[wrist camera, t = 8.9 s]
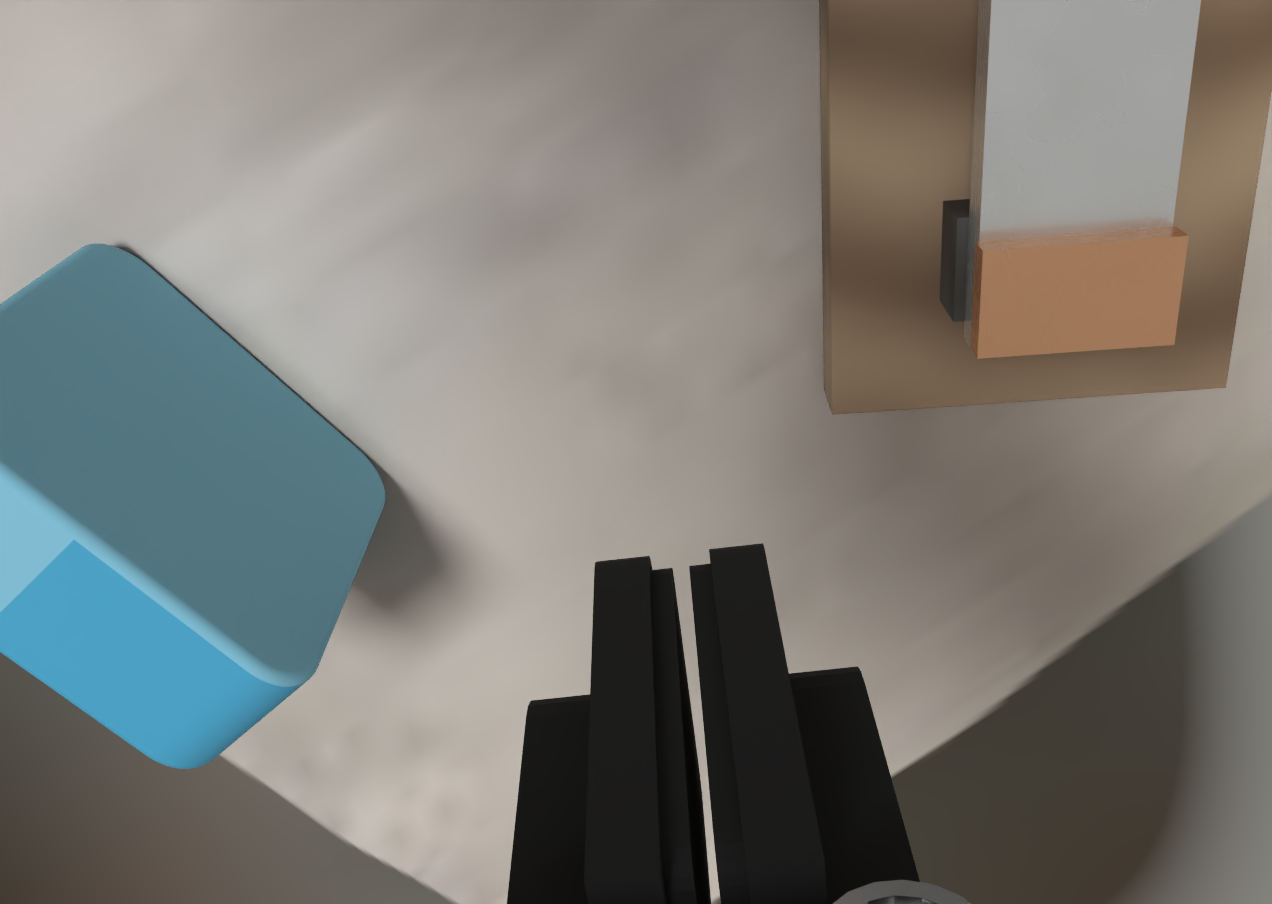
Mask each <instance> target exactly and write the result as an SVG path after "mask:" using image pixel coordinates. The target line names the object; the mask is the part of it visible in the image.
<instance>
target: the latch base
mask: <svg viewBox="0 0 1272 904" xmlns="http://www.w3.org/2000/svg"><path fill="white" fill-rule="evenodd" d="M978 11H979V0H819V14H820V97H821V179H822V262H823V345H824V390H825V393H826V396H827V399H828V403H829V406H830V409H831V412H832V414H846V413H861V412H875V411H890V410H904V409H919V408H934V407H948V406H963V405H977V404H992V403H1007V402H1021V401H1036V400H1051V399H1065V398H1080V397H1094V396H1109V395H1124V394H1138V393H1153V392H1167V391H1182V390H1197V389H1211V388H1226V383H1227V376H1228V370H1229V363H1230V357H1231V350H1232V344H1233V337H1234V331H1235V324H1236V318H1237V311H1238V305H1239V298H1240V292H1241V285H1242V279H1243V272H1244V266H1245V259H1246V253H1247V246H1248V240H1249V234H1250V227H1251V221H1252V214H1253V208H1254V201H1255V195H1256V188H1257V182H1258V175H1259V169H1260V162H1261V156H1262V149H1263V143H1264V136H1265V130H1266V123H1267V117H1268V110H1269V104H1270V97H1271V91H1272V0H1201V5H1200V13H1199V21H1198V29H1197V37H1196V45H1195V53H1194V61H1193V69H1192V77H1191V85H1190V93H1189V101H1188V109H1187V117H1186V125H1185V133H1184V141H1183V148H1182V156H1181V164H1180V172H1179V180H1178V188H1177V196H1176V204H1175V212H1174V220H1173V227H1177V228H1179V229H1180V230H1182V231H1183V232H1184V233H1186V234H1187V235H1188V236H1189V238H1188V246H1187V253H1186V261H1185V268H1184V276H1183V283H1182V291H1181V298H1180V306H1179V314H1178V321H1177V329H1176V336H1175V344H1174V345H1166V346H1152V347H1138V348H1124V349H1109V350H1095V351H1081V352H1067V353H1052V354H1038V355H1024V356H1010V357H995V358H981V359H977V357H976V356H975V354H973V352H972V351H971V349H970V347H969V346H968V344H967V343H966V341H965V340H964V317H965V295H966V273H967V251H968V229H969V207H970V186H971V164H972V142H973V120H974V98H975V76H976V55H977V33H978Z"/></svg>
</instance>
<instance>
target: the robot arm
mask: <svg viewBox="0 0 1272 904" xmlns="http://www.w3.org/2000/svg"><path fill="white" fill-rule="evenodd" d="M709 552H710V561H711V564H704V565H695V566H690V579H691V590H692V601H693V612H694V623H695V634H696V645H697V656H698V667H699V678H700V689H701V700H702V711H703V722H704V733H705V745H706V756H707V767H708V778H709V789H710V800H711V811H712V822H713V833H714V843H715V853H716V863H717V872H718V881H719V889H720V897H721V904H970V903H969V902H968V901H966V900H965V899H964V898H962V897H961V896H959V895H957V894H954V893H952V892H950V891H947V890H945V889H942V888H940V887H938V886H936V885H933V884H927V883H921V882H920V881H919V877H918V873H917V870H916V866H915V863H914V860H913V855H912V852H911V848H910V845H909V841H908V837H907V834H906V830H905V827H904V823H903V819H902V816H901V813H900V809H899V805H898V802H897V798H896V794H895V791H894V787H893V783H892V780H891V776H890V773H889V769H888V765H887V762H886V758H885V755H884V751H883V747H882V744H881V740H880V737H879V733H878V729H877V726H876V722H875V719H874V715H873V711H872V708H871V704H870V701H869V697H868V693H867V690H866V686H865V683H864V680H863V677H862V674H861V671H860V669H859V668H858V667H849V668H840V669H830V670H821V671H811V672H802V673H792V674H789V673H788V668H787V663H786V658H785V652H784V647H783V642H782V637H781V632H780V627H779V621H778V616H777V611H776V606H775V601H774V596H773V590H772V585H771V580H770V575H769V570H768V565H767V560H766V554H765V549H764V545H763V544H754V545H745V546H735V547H726V548H717V549H709ZM507 904H711V898H710V886H709V874H708V861H707V849H706V837H705V825H704V813H703V801H702V791H701V782H700V773H699V765H698V758H697V750H696V742H695V735H694V727H693V720H692V712H691V704H690V697H689V689H688V682H687V674H686V666H685V659H684V651H683V644H682V636H681V629H680V621H679V613H678V606H677V598H676V591H675V583H674V576H673V570H672V568H668V569H659V570H652V566H651V560H650V557H649V556H645V557H636V558H627V559H617V560H608V561H599V562H596V563H595V574H594V604H593V633H592V663H591V692H590V695H582V696H572V697H563V698H553V699H544V700H534V701H531V702H530V704H529V705H528V710H527V716H526V725H525V735H524V744H523V754H522V764H521V773H520V783H519V793H518V802H517V812H516V822H515V831H514V841H513V851H512V860H511V870H510V880H509V889H508V899H507Z"/></svg>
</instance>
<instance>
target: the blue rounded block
mask: <svg viewBox="0 0 1272 904" xmlns="http://www.w3.org/2000/svg"><path fill="white" fill-rule="evenodd" d="M385 498H386V497H385V489H384V485H383V482H382V480H381V478H380V476H379V474H378V472H377V470H376V469H375V467H374V466H373V465H372V463H371V462H370V461H369V460H368V458H367V457H366V456H365V455H364V454H363V453H362V452H361V451H360V450H359V449H357V448H356V447H355V446H354V445H353V444H352V443H351V442H349V441H348V440H347V439H346V438H345V437H344V436H343V435H341V434H340V433H339V432H338V431H337V430H336V429H335V428H333V427H332V426H331V425H330V424H329V423H328V422H327V421H325V420H324V419H323V418H322V417H321V416H320V415H319V414H317V413H316V412H315V411H314V410H313V409H312V408H311V407H309V406H308V405H307V404H306V403H305V402H304V401H303V400H301V399H300V398H299V397H298V396H297V395H296V394H295V393H293V392H292V391H291V390H290V389H289V388H288V387H286V386H285V385H284V384H283V383H282V382H281V381H280V380H278V379H277V378H276V377H275V376H274V375H273V374H272V373H270V372H269V371H268V370H267V369H266V368H265V367H264V366H262V365H261V364H260V363H259V362H258V361H257V360H256V359H254V358H253V357H252V356H251V355H250V354H249V353H248V352H246V351H245V350H244V349H243V348H242V347H241V346H240V345H238V344H237V343H236V342H235V341H234V340H233V339H232V338H230V337H229V336H228V335H227V334H226V333H225V332H224V331H222V330H221V329H220V328H219V327H218V326H217V325H216V324H214V323H213V322H212V321H211V320H210V319H209V318H208V317H206V316H205V315H204V314H203V313H202V312H201V311H199V310H198V309H197V308H196V307H195V306H194V305H193V304H191V303H190V302H189V301H188V300H187V299H186V298H185V297H183V296H182V295H181V294H180V293H179V292H178V291H177V290H175V289H174V288H173V287H172V286H171V285H170V284H169V283H167V282H166V281H165V280H164V279H163V278H162V277H161V276H159V275H158V274H157V273H156V272H155V271H154V270H153V269H151V268H150V267H149V266H148V265H147V264H145V263H144V262H143V261H141V260H140V259H138V258H137V257H135V256H134V255H132V254H130V253H128V252H126V251H124V250H122V249H119V248H117V247H114V246H110V245H105V244H90V245H87V246H84V247H82V248H81V249H79V250H78V251H76V252H75V253H73V254H72V255H71V256H69V257H68V258H66V259H65V260H63V261H62V262H60V263H59V264H57V265H56V266H55V267H53V268H52V269H50V270H49V271H47V272H46V273H44V274H43V275H42V276H40V277H39V278H37V279H36V280H34V281H33V282H31V283H30V284H29V285H27V286H26V287H24V288H23V289H21V290H20V291H18V292H17V293H16V294H14V295H13V296H11V297H10V298H8V299H7V300H5V301H4V302H3V303H1V304H0V652H1V653H3V654H4V655H5V656H7V657H8V658H10V659H11V660H12V661H14V662H15V663H17V664H18V665H19V666H21V667H22V668H24V669H25V670H27V671H28V672H29V673H31V674H32V675H34V676H35V677H36V678H38V679H39V680H41V681H42V682H43V683H45V684H46V685H48V686H49V687H51V688H52V689H53V690H55V691H56V692H57V693H59V694H60V695H62V696H63V697H64V698H66V699H67V700H69V701H70V702H72V703H73V704H74V705H76V706H77V707H79V708H80V709H81V710H83V711H84V712H86V713H87V714H88V715H90V716H91V717H93V718H94V719H96V720H97V721H98V722H100V723H101V724H103V725H104V726H106V727H107V728H108V729H110V730H111V731H113V732H114V733H115V734H117V735H118V736H120V737H121V738H122V739H124V740H125V741H127V742H128V743H129V744H131V745H132V746H134V747H135V748H137V749H138V750H139V751H141V752H142V753H144V754H145V755H146V756H148V757H150V758H151V759H153V760H155V761H157V762H159V763H161V764H164V765H166V766H170V767H174V768H182V769H187V768H195V767H199V766H202V765H205V764H207V763H209V762H210V761H212V760H213V759H214V758H215V757H217V756H218V755H219V754H220V753H221V752H223V751H224V750H225V749H226V748H227V747H229V746H230V745H231V744H232V743H233V742H235V741H236V740H237V739H238V738H239V737H241V736H242V735H243V734H244V733H245V732H247V731H248V730H249V729H250V728H251V727H253V726H254V725H255V724H256V723H257V722H259V721H260V720H261V719H262V718H263V717H264V716H266V715H267V714H268V713H269V712H270V711H272V710H273V709H274V708H275V707H276V706H278V705H279V704H280V703H281V702H282V701H284V700H285V699H286V698H287V697H288V696H290V695H291V694H292V693H293V692H294V691H296V690H297V689H298V688H299V687H300V686H301V685H303V684H304V683H305V682H306V681H307V680H309V679H310V678H311V677H312V675H313V674H314V673H315V671H316V669H317V667H318V665H319V663H320V660H321V658H322V656H323V653H324V651H325V648H326V646H327V643H328V641H329V639H330V636H331V634H332V631H333V629H334V626H335V624H336V622H337V619H338V617H339V614H340V612H341V609H342V607H343V605H344V602H345V600H346V597H347V595H348V592H349V590H350V588H351V585H352V583H353V580H354V578H355V575H356V573H357V571H358V568H359V566H360V563H361V561H362V558H363V556H364V554H365V551H366V549H367V546H368V544H369V541H370V539H371V537H372V534H373V532H374V529H375V527H376V524H377V522H378V520H379V517H380V515H381V512H382V510H383V507H384V504H385Z"/></svg>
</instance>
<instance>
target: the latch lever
mask: <svg viewBox="0 0 1272 904" xmlns="http://www.w3.org/2000/svg"><path fill="white" fill-rule="evenodd" d="M1200 5H1201V0H979V11H978V33H977V55H976V76H975V98H974V120H973V142H972V164H971V186H970V207H969V229H968V251H967V273H966V295H965V317H964V340H965V341H966V343H967V344H968V346H969V347H970V349H971V351H972V352H973V354H975V356H976V357H977V359H981V358H995V357H1010V356H1024V355H1038V354H1052V353H1067V352H1081V351H1095V350H1109V349H1124V348H1138V347H1152V346H1166V345H1174V344H1175V336H1176V329H1177V321H1178V314H1179V306H1180V298H1181V291H1182V283H1183V276H1184V268H1185V261H1186V253H1187V246H1188V238H1189V236H1188V235H1187V234H1186V233H1184V232H1183V231H1182V230H1180V229H1179V228H1177V227H1173V220H1174V212H1175V204H1176V196H1177V188H1178V180H1179V172H1180V164H1181V156H1182V148H1183V141H1184V133H1185V125H1186V117H1187V109H1188V101H1189V93H1190V85H1191V77H1192V69H1193V61H1194V53H1195V45H1196V37H1197V29H1198V21H1199V13H1200Z"/></svg>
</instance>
